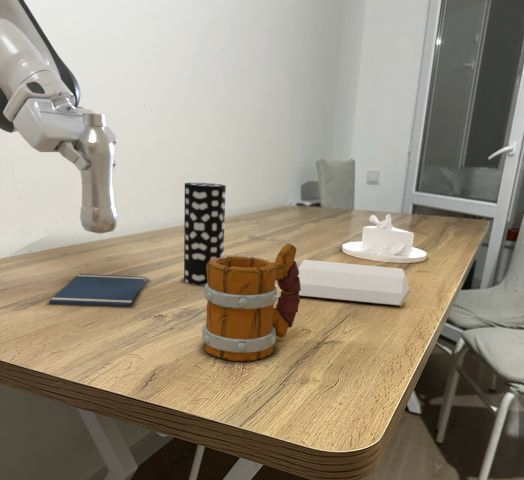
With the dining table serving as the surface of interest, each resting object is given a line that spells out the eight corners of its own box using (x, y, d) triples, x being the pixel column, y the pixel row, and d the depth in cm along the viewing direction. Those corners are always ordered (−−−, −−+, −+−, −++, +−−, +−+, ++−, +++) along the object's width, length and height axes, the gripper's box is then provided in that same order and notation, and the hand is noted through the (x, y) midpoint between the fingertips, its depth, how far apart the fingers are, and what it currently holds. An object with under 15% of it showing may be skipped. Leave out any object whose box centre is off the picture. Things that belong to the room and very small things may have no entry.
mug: (186, 342, 77) (187, 242, 72) (274, 327, 86) (281, 236, 81) (223, 368, 69) (227, 257, 64) (316, 348, 78) (327, 249, 73)
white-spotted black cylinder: (229, 283, 112) (233, 186, 104) (195, 287, 107) (197, 186, 100) (210, 274, 118) (212, 182, 110) (177, 278, 113) (177, 182, 106)
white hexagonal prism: (408, 279, 108) (294, 268, 111) (414, 268, 101) (292, 257, 104) (405, 313, 107) (290, 301, 110) (411, 305, 100) (288, 293, 103)
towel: (49, 304, 91) (49, 300, 91) (79, 276, 109) (79, 273, 109) (130, 307, 92) (130, 303, 92) (146, 279, 110) (146, 276, 110)
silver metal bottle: (78, 235, 92) (69, 111, 84) (84, 229, 98) (77, 113, 90) (115, 236, 93) (110, 114, 85) (119, 230, 99) (115, 116, 91)
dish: (325, 249, 156) (329, 211, 151) (374, 243, 172) (379, 208, 167) (393, 266, 139) (400, 223, 135) (441, 257, 155) (449, 219, 151)
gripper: (77, 120, 101) (122, 177, 102) (-6, 113, 83) (50, 182, 83) (95, 96, 98) (141, 155, 99) (13, 82, 80) (71, 154, 81)
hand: (99, 167), depth 91 cm, fingers closed on silver metal bottle, 6 cm apart
